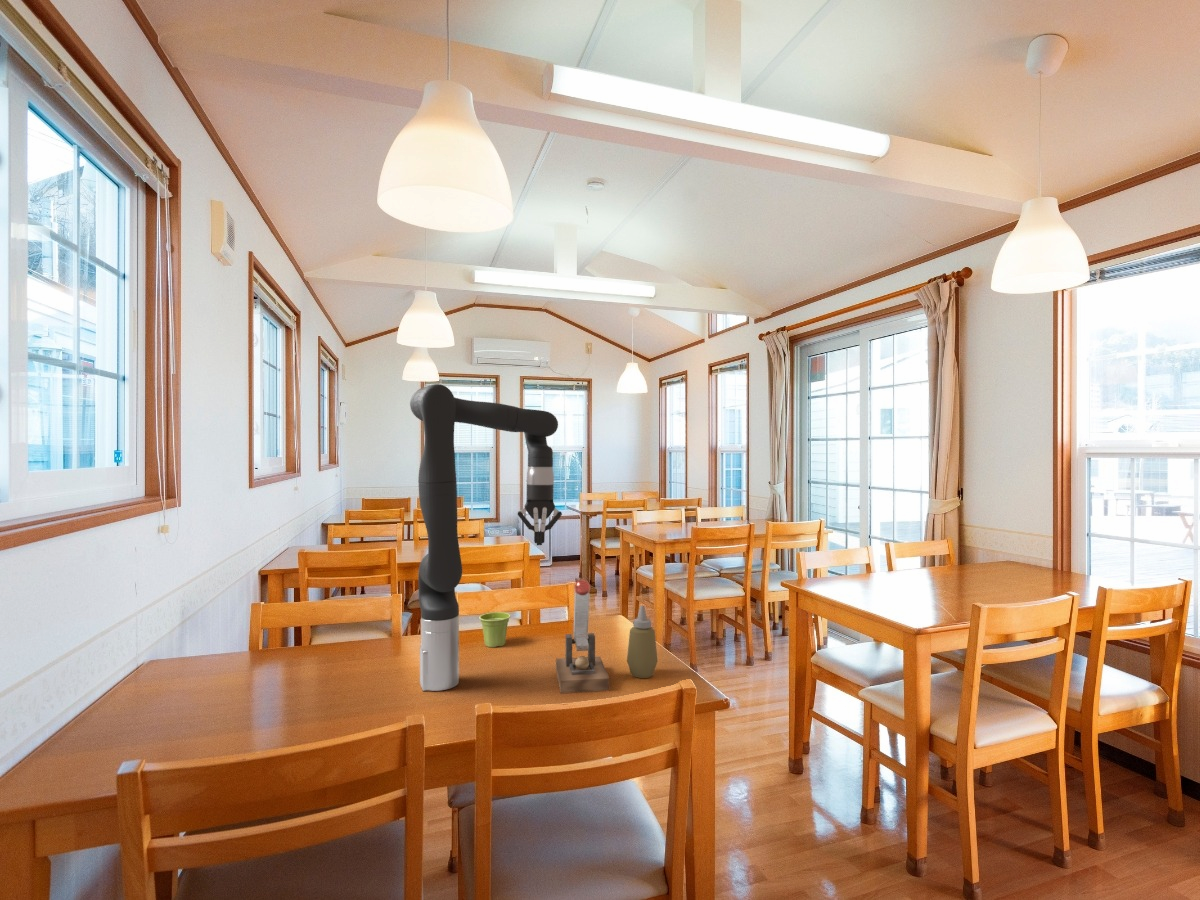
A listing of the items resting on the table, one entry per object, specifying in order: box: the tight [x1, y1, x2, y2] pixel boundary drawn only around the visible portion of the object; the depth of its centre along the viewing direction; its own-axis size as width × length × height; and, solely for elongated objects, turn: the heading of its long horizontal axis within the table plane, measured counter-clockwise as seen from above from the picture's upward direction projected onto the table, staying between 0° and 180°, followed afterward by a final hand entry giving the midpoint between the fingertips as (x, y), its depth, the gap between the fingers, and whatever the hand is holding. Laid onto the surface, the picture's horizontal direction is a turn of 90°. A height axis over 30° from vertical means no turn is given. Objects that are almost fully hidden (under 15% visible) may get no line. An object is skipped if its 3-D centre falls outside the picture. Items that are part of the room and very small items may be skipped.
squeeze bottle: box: [626, 605, 659, 679], centre depth 159 cm, size 8×8×18 cm
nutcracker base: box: [555, 632, 610, 694], centre depth 155 cm, size 12×16×10 cm
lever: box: [572, 578, 591, 652], centre depth 154 cm, size 4×8×17 cm, turn 8°
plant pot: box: [478, 611, 511, 648], centre depth 184 cm, size 9×9×9 cm
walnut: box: [575, 655, 589, 670], centre depth 154 cm, size 4×4×4 cm
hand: (539, 544), depth 169 cm, fingers closed
